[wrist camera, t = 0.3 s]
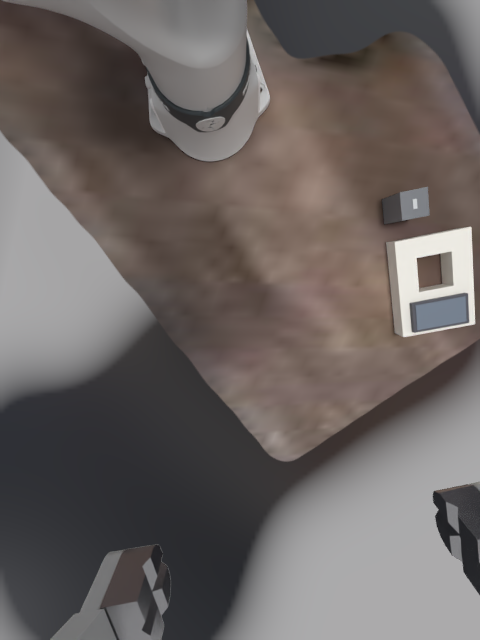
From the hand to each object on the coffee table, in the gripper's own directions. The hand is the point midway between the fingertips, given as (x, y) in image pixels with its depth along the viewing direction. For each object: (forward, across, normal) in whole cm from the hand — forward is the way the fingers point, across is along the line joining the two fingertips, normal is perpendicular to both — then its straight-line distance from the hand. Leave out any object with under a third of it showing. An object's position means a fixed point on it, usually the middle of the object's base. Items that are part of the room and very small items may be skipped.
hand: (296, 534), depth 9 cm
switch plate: (+47, -30, +4) cm, 56 cm away
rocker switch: (+47, -26, -9) cm, 55 cm away
